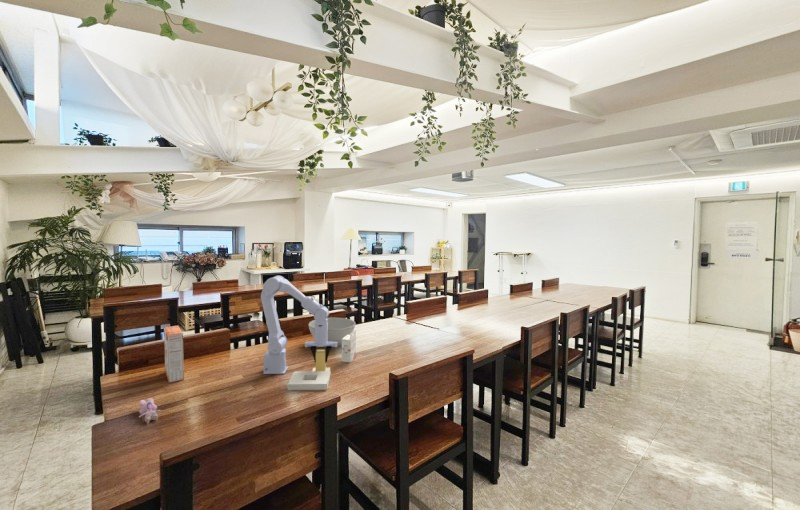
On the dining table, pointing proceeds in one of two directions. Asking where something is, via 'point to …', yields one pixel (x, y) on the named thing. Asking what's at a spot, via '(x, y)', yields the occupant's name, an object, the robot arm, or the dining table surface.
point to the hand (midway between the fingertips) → (321, 361)
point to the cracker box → (173, 353)
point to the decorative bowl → (336, 329)
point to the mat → (325, 370)
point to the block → (320, 360)
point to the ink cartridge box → (349, 347)
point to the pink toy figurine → (148, 410)
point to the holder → (309, 380)
